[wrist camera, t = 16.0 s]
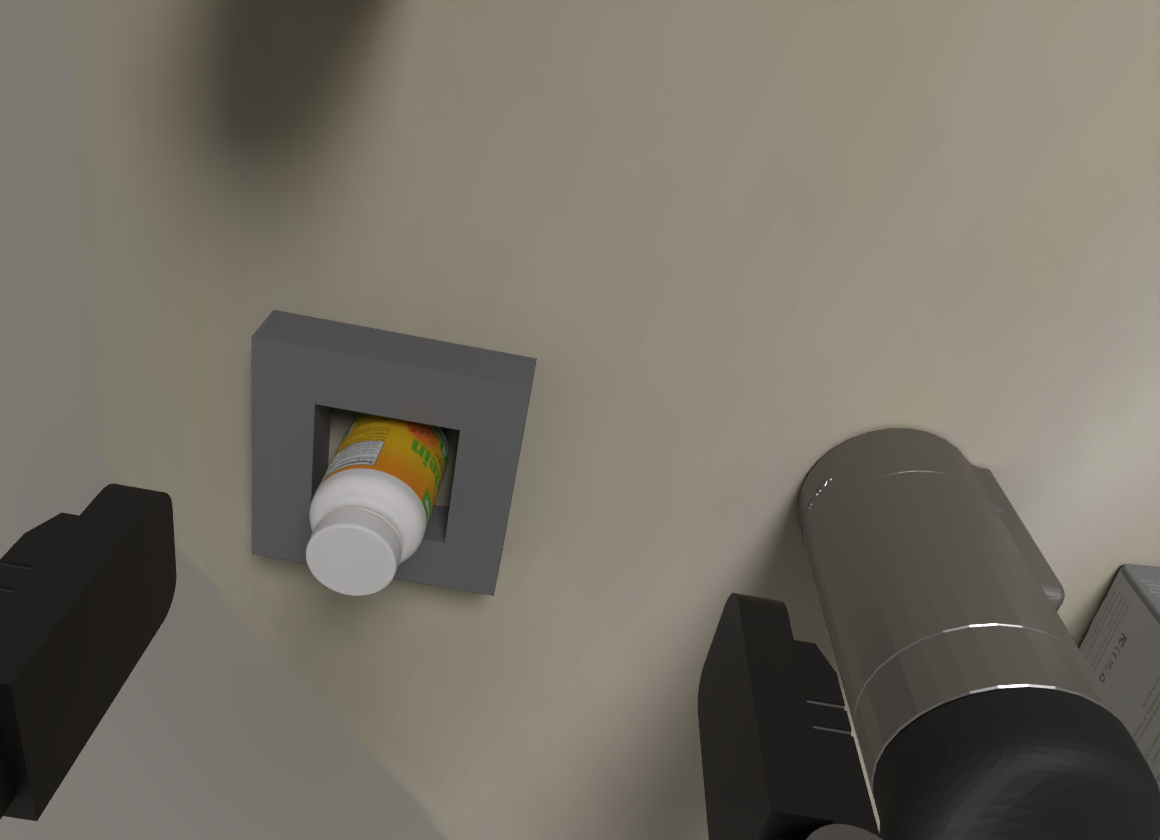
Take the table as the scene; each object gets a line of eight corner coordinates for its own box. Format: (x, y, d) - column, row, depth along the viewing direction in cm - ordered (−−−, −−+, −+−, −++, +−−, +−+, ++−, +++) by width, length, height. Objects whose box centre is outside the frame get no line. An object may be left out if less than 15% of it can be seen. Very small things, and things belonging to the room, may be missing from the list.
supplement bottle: (465, 473, 48) (431, 596, 40) (373, 495, 50) (321, 619, 41) (427, 388, 46) (382, 500, 38) (331, 413, 47) (267, 527, 39)
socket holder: (536, 358, 45) (531, 388, 42) (500, 560, 51) (493, 595, 49) (273, 310, 44) (251, 336, 42) (271, 520, 51) (252, 554, 48)
